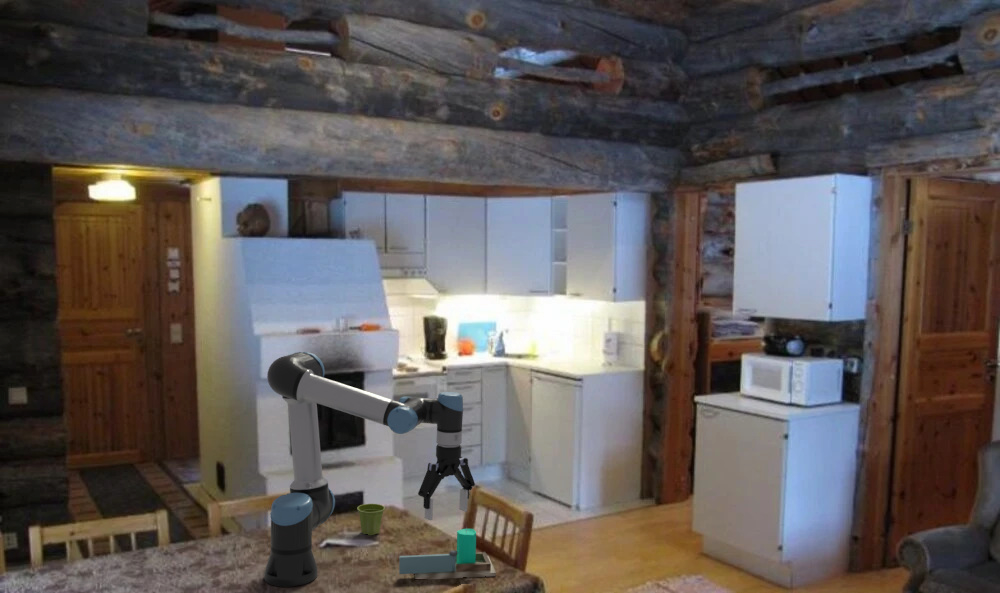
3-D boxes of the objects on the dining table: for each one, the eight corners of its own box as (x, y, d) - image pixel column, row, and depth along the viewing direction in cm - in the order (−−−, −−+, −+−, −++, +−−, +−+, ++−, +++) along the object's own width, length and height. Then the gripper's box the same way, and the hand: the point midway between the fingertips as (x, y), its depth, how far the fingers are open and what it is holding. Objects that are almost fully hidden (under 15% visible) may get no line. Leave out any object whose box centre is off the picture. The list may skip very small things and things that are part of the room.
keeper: (457, 572, 243) (458, 552, 242) (399, 574, 240) (399, 555, 239) (456, 569, 245) (457, 550, 245) (399, 571, 242) (399, 552, 242)
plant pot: (385, 528, 284) (385, 503, 284) (383, 537, 275) (383, 512, 275) (358, 528, 284) (358, 503, 283) (355, 537, 274) (355, 512, 274)
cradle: (415, 580, 239) (415, 570, 239) (412, 562, 253) (412, 552, 253) (495, 576, 244) (496, 566, 244) (488, 558, 257) (488, 549, 257)
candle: (458, 569, 245) (459, 530, 245) (454, 562, 251) (454, 524, 250) (478, 568, 247) (478, 529, 246) (473, 560, 253) (473, 522, 252)
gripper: (424, 453, 232) (421, 526, 233) (488, 441, 249) (485, 509, 250) (407, 447, 237) (405, 519, 238) (471, 436, 254) (468, 503, 256)
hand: (446, 514), depth 244 cm, fingers open, 13 cm apart
